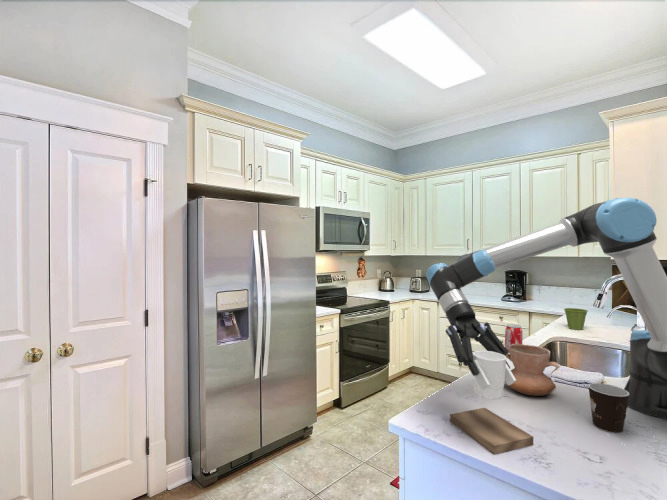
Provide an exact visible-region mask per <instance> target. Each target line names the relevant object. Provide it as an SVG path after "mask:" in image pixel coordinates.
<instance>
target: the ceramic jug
mask: <svg viewBox="0 0 667 500" xmlns="http://www.w3.org/2000/svg"><path fill="white" fill-rule="evenodd" d="M505 356H506V359H508V360H509V361H510V362H511V363H512V365H513V367H514V368H512V369H510V370H511V372H512V374H513V375H514V377H515V379H516V381H515V382H514V383H512V384H511V385H507V383H506V381H505V382H504V383H505V384H506V385H507V386H508V387H510V388H511V389H512V390H513V391H515V392H517V393H521V394H524V395H527V396H533V397H539V396H541V397H542V396H547V395H549V394H551V393H552V392H553V391H555V389H556V387H557V385H556V384H555V382H554V381H553V380H552V378H550V377H549V376H548V375H546V374H545V373H544V372H545V370H546V368H548V367H555V368H558V366H559V363H558V362H555V361H550V358H551V351H550V349H548V348H545V347H541V346H538V345H531V344H530V345H529V344H523V343H522V344H512V345H509V352H508V354H507V355H505Z"/></svg>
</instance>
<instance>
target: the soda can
mask: <svg viewBox="0 0 667 500" xmlns="http://www.w3.org/2000/svg"><path fill="white" fill-rule="evenodd" d="M523 340H524V339H523V329H522V326H521V325H519V324H513V323H512V324H511V323H510V324H509V323H508V324H506V327H505V331H504V347H505V348H506V349H507V351H508V353H509V345H512V344H523Z"/></svg>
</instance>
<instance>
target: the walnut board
mask: <svg viewBox="0 0 667 500" xmlns="http://www.w3.org/2000/svg"><path fill="white" fill-rule="evenodd" d="M449 422H450V423H452V424H453V425H454V426H455V427H457V428H458V429H459V430H461V431H463V433H465V434H466V435H468V436H469V437H470V438H471V439H473V440H474V441H476V442H477V443H479V444H480V445H481V446H482V447H483V448H485V449H486V450H488V451H489V452H490V453H492V454H493V455H496V454H497V455H498V454H502V453H506V452H510V451H514V450H518V449H523V448H527V447H531V446H533V445H534V436H533V435H531V434H530V433H528V432H526V431H525V430H523V429H522V428H519V427H518V426H517V425H514V424H513V423H511V422H510V421H508V420H507V419H505V418H503V417H501V416H500V415H498V414H497V413H494V412H493V411H491V410H490V409H488V408H487V407H480V408H475V409H470V410H465V411H459V412H455V413H449Z"/></svg>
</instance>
